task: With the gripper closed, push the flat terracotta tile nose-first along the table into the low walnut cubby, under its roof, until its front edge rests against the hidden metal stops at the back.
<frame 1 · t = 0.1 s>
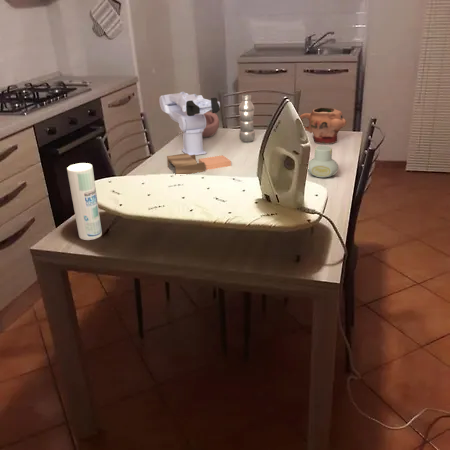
hand: (208, 109, 181), 22 cm above the table, tool horizontal, fingers open, 7 cm apart
tile: (214, 165, 192), on the table
spray can: (90, 235, 140), on the table
air freshener: (321, 175, 179), on the table
cubby: (187, 169, 189), on the table
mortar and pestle: (206, 136, 229), on the table
decorative planter: (320, 142, 216), on the table
plastic bottle: (247, 141, 220), on the table
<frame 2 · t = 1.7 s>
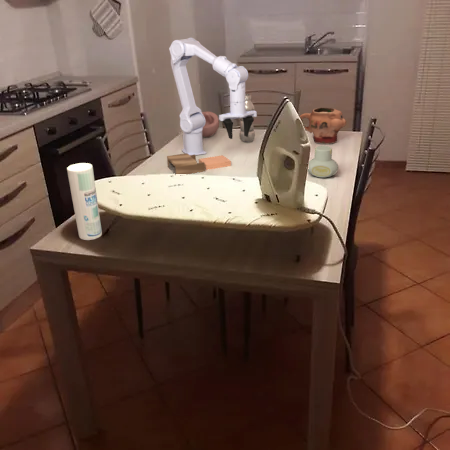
hand: (238, 137, 192), 9 cm above the table, tool pointing down, fingers open, 6 cm apart
nothing on the table moved.
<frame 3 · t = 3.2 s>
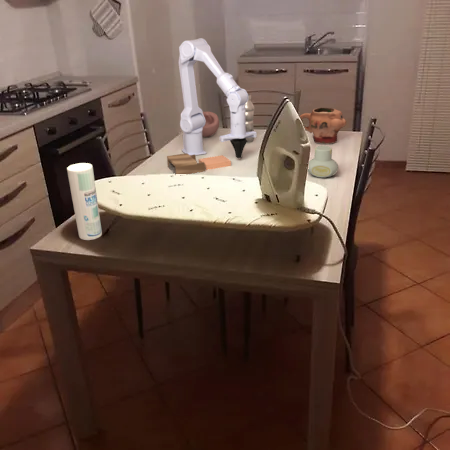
hand: (238, 157, 195), 1 cm above the table, tool pointing down, fingers closed
nothing on the table moved.
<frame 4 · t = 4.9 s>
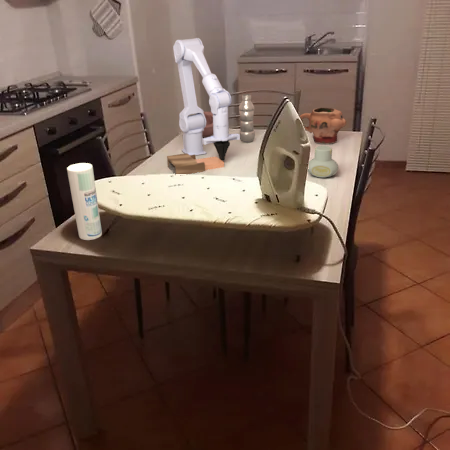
hand: (221, 160, 193), 1 cm above the table, tool pointing down, fingers closed
tile: (208, 167, 191), on the table
everything else where it was.
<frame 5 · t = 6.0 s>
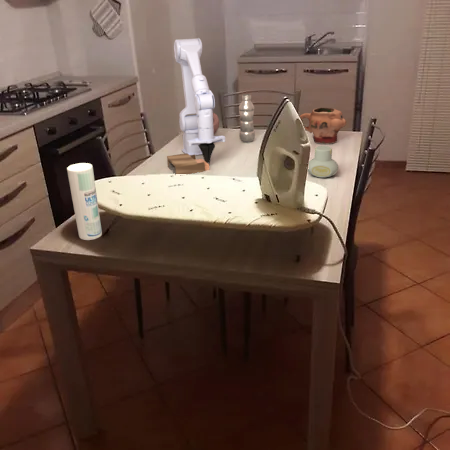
hand: (207, 162, 191), 1 cm above the table, tool pointing down, fingers closed
tile: (193, 169, 189), on the table
everything else where it was.
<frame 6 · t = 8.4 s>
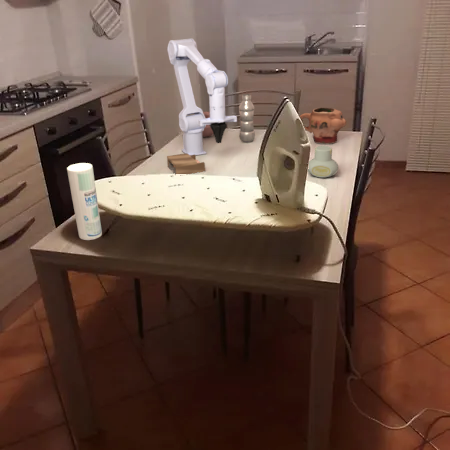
hand: (218, 142, 189), 8 cm above the table, tool pointing down, fingers closed
tile: (188, 170, 188), on the table
everything else where it was.
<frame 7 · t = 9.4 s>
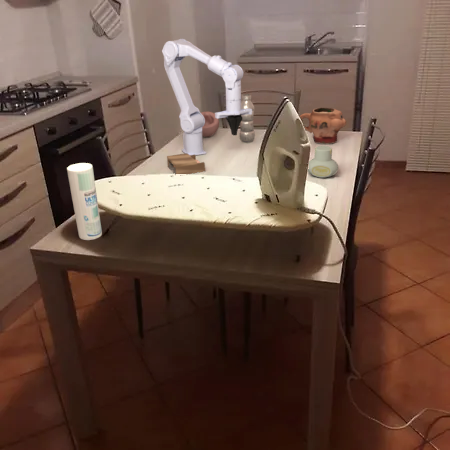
hand: (234, 134, 195), 9 cm above the table, tool pointing down, fingers closed
nothing on the table moved.
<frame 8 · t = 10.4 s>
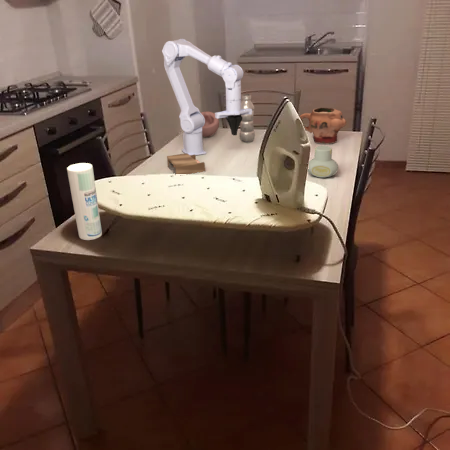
hand: (234, 134, 195), 9 cm above the table, tool pointing down, fingers closed
nothing on the table moved.
at the end: tile 0.5 cm off-centre on the cubby, point -0.5 cm above the cubby's base; tile tilted 0° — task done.
